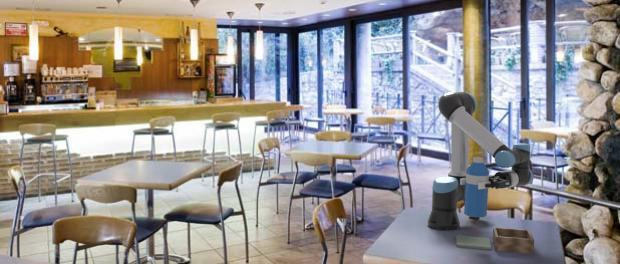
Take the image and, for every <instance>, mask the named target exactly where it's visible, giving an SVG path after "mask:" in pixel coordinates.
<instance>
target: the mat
mask: <svg viewBox="0 0 620 264" xmlns="http://www.w3.org/2000/svg"><path fill="white" fill-rule="evenodd" d="M456 248H466V249H476V250H489V251H492V245H491V240H490V238H489V237H481V236H480V237H479V236H470V235H456Z"/></svg>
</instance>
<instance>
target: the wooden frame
mask: <svg viewBox="0 0 620 264" xmlns="http://www.w3.org/2000/svg"><path fill="white" fill-rule="evenodd" d="M492 244H493V247H494V252H506V253H516V254H529V255H534V251H535V239H534V237H533V235H532V233H531V231H530V230H529V229H520V228H509V227H498V226H497V227H496V226H493V227H492Z"/></svg>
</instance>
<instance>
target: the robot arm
mask: <svg viewBox="0 0 620 264" xmlns="http://www.w3.org/2000/svg"><path fill="white" fill-rule="evenodd" d="M477 105H478V103H477V99H476V98H475V96H473V94H471V93H470V92H465V91H458V92H457V91H456V92H454V91H453V92H452V91H451V92H450V91H449V92H446V93H444V94H443V95H442V96H441V97H440V98H439V99H438V105H437V106H438V111H439V113H440V114H441V115H442V117H444V119H446V120H447V121H449V123H450V124H451V125H450V129H451V130H450V131H451V133H450V135H451V136H450V141H451V143H450V145H451V146H450V147H451V148H450V153H451V154H450V159H451V160H450V171H448V173H447V176H440V177H437V178H435V179H434V180H433V182H432V187H431V188H432V195H431V202H432V203H431V211H430V214H429V217H428V219H427V226H428V227H429V226H430V228H431V227H432V228H431V229H435V230H439V231H455V230H458V229H460V228H461V227H460V226H461V222H460V219H459V215H458V212H457V209H458V208H457V207H458V203H460V202H464V200H465V187H466V170H467V168H468V167H469V166H470V138H471V139H472V140H473V141H475V143H477V144H478V145H479V146H480V147H481V148H482V149H483V150H484V151H485V152H487V154H489V155H490V156H491V157H493V159H494V162H495V164H496V166H497V167H498V168H501V169H509V168H511V169H510V170H503V171H497V172H495V174H493V175H489V182H480V183H478V189H486V188H488V189H494V188H495V189H496V190H498V189H511V188H515V187H524V186H528V185H530V184H532V183H533V181H534V179H535V178H534V174H533V171H532V170H531V169H530V162H531V161H530V160H531V153H532V152H531V145H530V144H528V143H523V142H515V143H513V144H512V149H510V147H508V146H507V145H506V144H505V143H504V142H503V141H501V140H500V139H499V138H498V137H497V136H496V135H494V134H493V133H492V132H491V131H490V130H488V129H487V128H486V127H485V126H484V125H483V124H481V123H480V122H479V121H478V120H476V119H475V118H474V117H473V114H474V112H475V111H476V109H477Z"/></svg>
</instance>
